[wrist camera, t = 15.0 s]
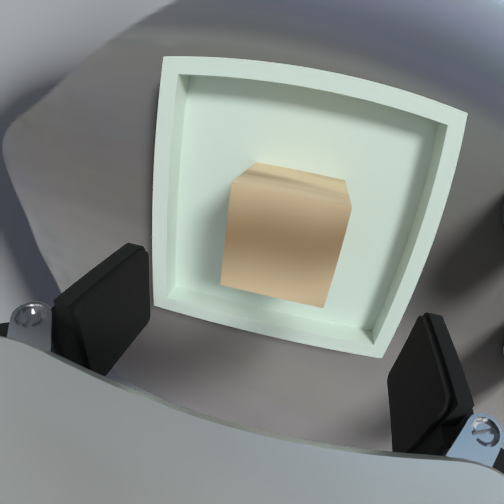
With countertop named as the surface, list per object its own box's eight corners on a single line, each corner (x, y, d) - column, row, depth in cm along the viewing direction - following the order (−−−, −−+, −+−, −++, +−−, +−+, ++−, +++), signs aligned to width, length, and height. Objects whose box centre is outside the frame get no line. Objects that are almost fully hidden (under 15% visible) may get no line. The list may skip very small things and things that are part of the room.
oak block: (325, 260, 19) (323, 308, 15) (244, 242, 20) (220, 284, 15) (344, 180, 17) (352, 207, 13) (255, 162, 18) (231, 182, 13)
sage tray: (378, 335, 22) (381, 358, 20) (168, 287, 24) (153, 305, 22) (450, 111, 15) (467, 113, 12) (182, 60, 17) (163, 56, 14)
